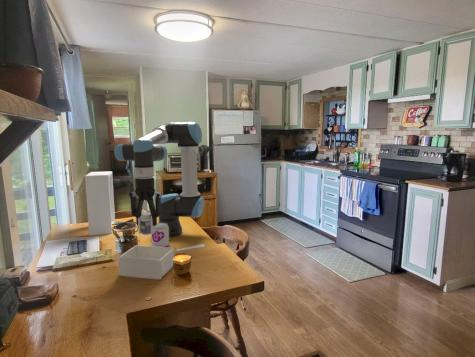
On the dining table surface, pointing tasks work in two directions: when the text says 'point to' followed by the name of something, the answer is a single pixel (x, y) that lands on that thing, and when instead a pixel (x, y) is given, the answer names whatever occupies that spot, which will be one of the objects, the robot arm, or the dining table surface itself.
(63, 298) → the dining table surface
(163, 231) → the supplement can
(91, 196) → the box
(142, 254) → the carton
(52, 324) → the dining table surface
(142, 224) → the pill bottle
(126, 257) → the flap
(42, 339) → the dining table surface
